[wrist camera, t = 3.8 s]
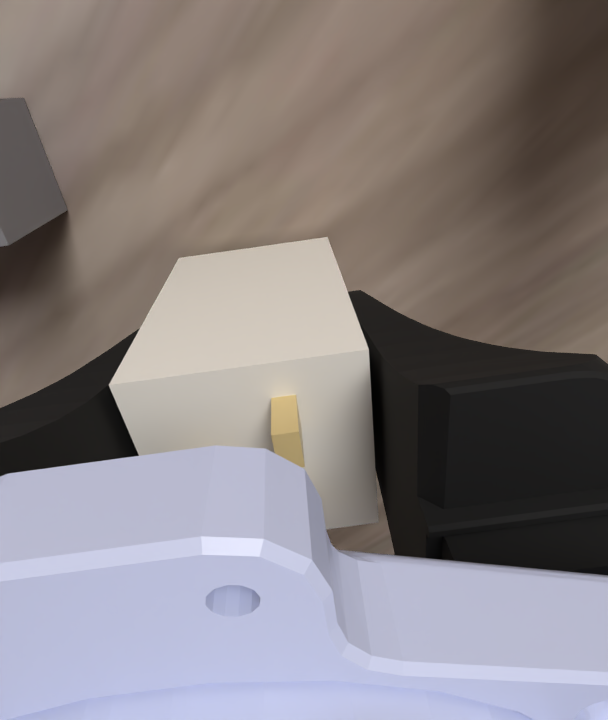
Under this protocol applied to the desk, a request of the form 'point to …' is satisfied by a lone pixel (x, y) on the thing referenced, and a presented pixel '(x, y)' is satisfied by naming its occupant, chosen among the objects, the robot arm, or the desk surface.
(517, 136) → the desk surface
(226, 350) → the plug
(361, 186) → the desk surface
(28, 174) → the grey u-shaped bracket
